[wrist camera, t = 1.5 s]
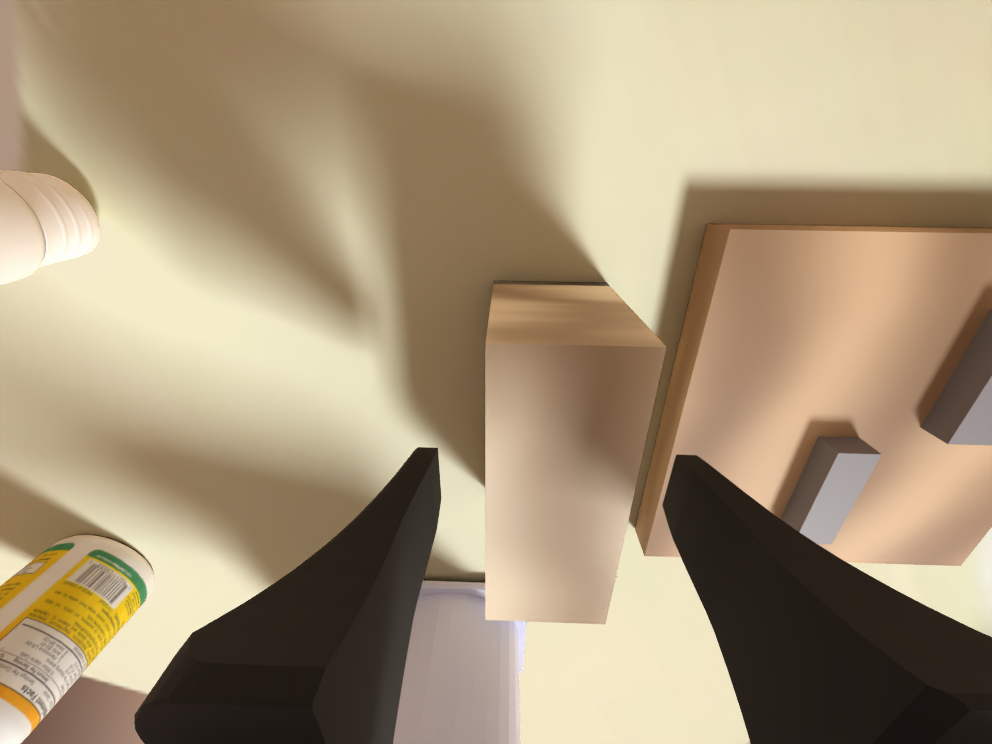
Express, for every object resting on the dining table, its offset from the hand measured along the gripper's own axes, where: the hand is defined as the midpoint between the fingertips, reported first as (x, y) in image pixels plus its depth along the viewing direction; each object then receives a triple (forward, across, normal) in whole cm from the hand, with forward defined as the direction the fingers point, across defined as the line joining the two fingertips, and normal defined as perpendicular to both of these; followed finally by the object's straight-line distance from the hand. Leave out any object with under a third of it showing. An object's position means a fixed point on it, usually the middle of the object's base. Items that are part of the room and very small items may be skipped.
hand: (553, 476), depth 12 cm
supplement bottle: (+5, +23, +11) cm, 26 cm away
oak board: (+4, -12, 0) cm, 13 cm away
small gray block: (+3, -11, +3) cm, 12 cm away
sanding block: (+5, 0, 0) cm, 5 cm away
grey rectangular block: (+3, -14, -2) cm, 15 cm away
